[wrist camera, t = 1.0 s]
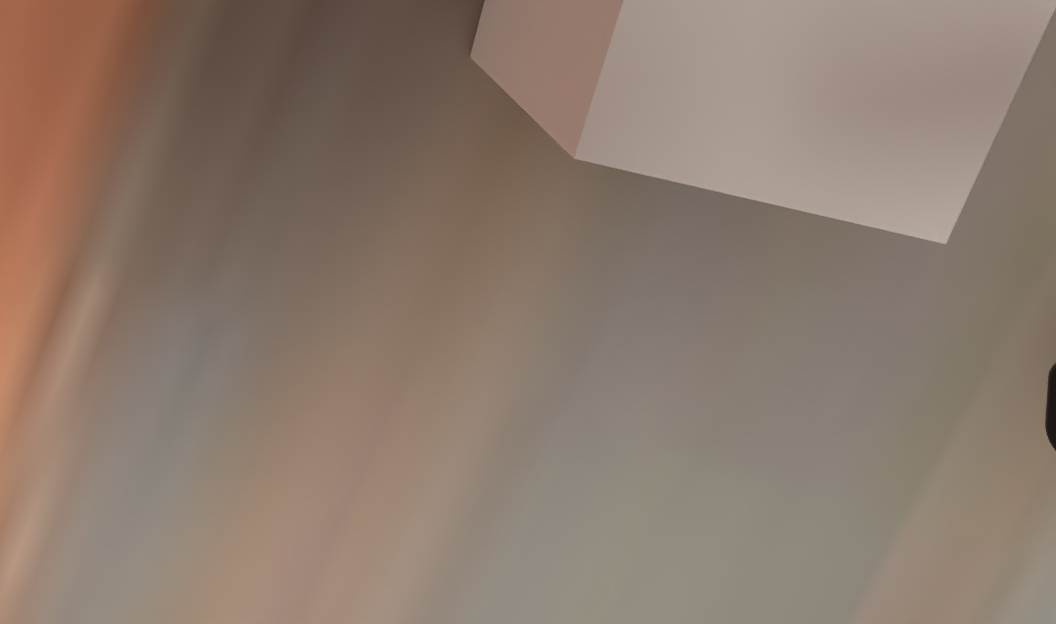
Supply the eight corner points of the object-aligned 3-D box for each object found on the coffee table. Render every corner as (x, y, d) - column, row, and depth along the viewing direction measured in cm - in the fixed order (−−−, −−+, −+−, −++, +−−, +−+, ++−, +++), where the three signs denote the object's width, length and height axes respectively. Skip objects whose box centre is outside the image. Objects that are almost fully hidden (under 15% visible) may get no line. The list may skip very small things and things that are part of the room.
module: (828, -83, 20) (1079, -44, 14) (749, 129, 22) (945, 244, 16) (534, -187, 18) (684, -194, 12) (469, 57, 20) (573, 158, 14)
